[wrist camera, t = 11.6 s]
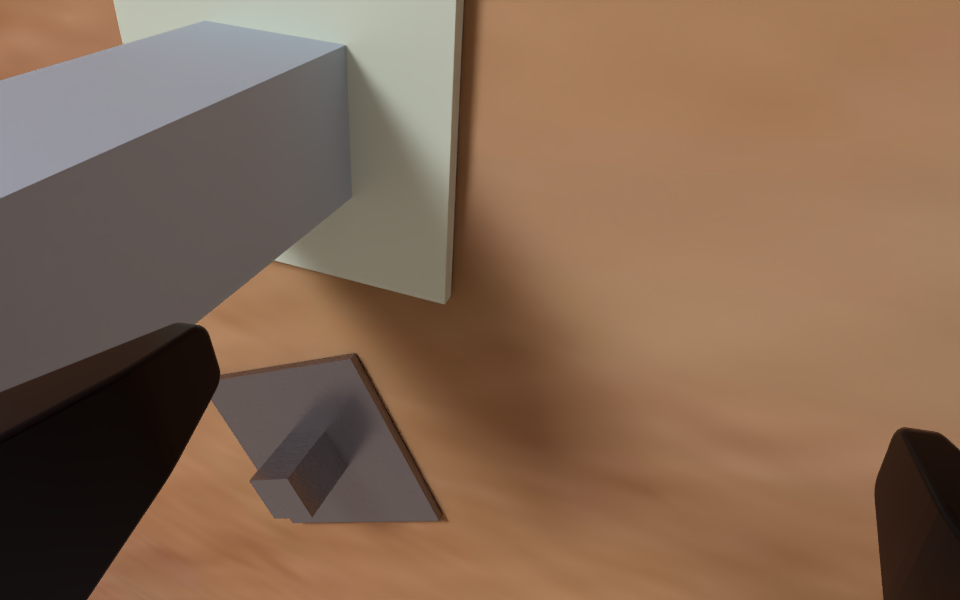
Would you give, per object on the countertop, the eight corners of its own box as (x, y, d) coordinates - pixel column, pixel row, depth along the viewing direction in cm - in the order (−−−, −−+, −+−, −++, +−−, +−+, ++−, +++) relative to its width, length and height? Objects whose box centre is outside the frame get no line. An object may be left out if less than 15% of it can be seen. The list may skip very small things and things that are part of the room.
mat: (467, -83, 18) (459, -82, 18) (450, 296, 25) (444, 304, 24) (101, -122, 21) (86, -122, 21) (174, 225, 28) (164, 232, 28)
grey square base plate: (355, 353, 28) (310, 406, 26) (442, 514, 32) (410, 575, 29) (205, 377, 32) (153, 424, 30) (296, 516, 36) (257, 570, 33)
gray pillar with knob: (346, 45, 21) (-138, 259, 10) (352, 197, 23) (-19, 496, 13) (204, 20, 22) (-366, 187, 11) (226, 168, 25) (-210, 417, 14)
